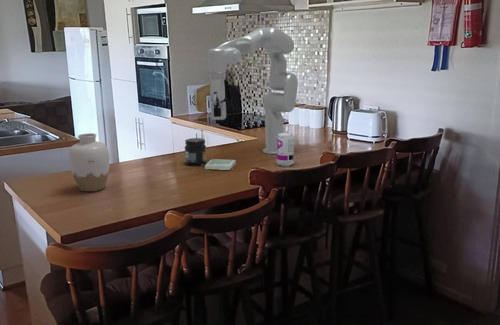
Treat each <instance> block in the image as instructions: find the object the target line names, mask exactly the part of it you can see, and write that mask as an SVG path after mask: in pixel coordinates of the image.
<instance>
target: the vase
mask: <svg viewBox="0 0 500 325" xmlns="http://www.w3.org/2000/svg"><path fill="white" fill-rule="evenodd" d="M77 138H78V140H79V142H78V143H75V144H73V145H72V146H71V147H70V148H69V152H68V163H69V166H70V171H71V174H72V178H73V179H74V181H75V183H76V185H77V187H78V188H79V190H80V191H81V190H82V191H81V192H83V191H95V192H99V191H98V190H100V191H102V190H104V189H105V187H106V185H107V181H108V178H109V172H110V165H111V163H110V160H111V158H110V152H109V149H108V146H107V145H106V144H105V143H104V142H101V141H97V140H96V138H97V134H96V133H82V134H78V135H77ZM103 188H104V189H103ZM101 189H102V190H101Z"/></svg>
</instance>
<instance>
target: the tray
mask: <svg viewBox="0 0 500 325" xmlns="http://www.w3.org/2000/svg"><path fill="white" fill-rule="evenodd" d="M235 164H236V159H216V158H215V159H214V158H213V159H210V160H209V161H207V162H206V163H205V164H204V170H205V169H219V170H230V169H231V168H232V167H233V166H234V165H235ZM236 165H237V164H236ZM236 165H235V166H236ZM235 166H234V167H235ZM234 167H233V168H234ZM233 168H232V169H233Z"/></svg>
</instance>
